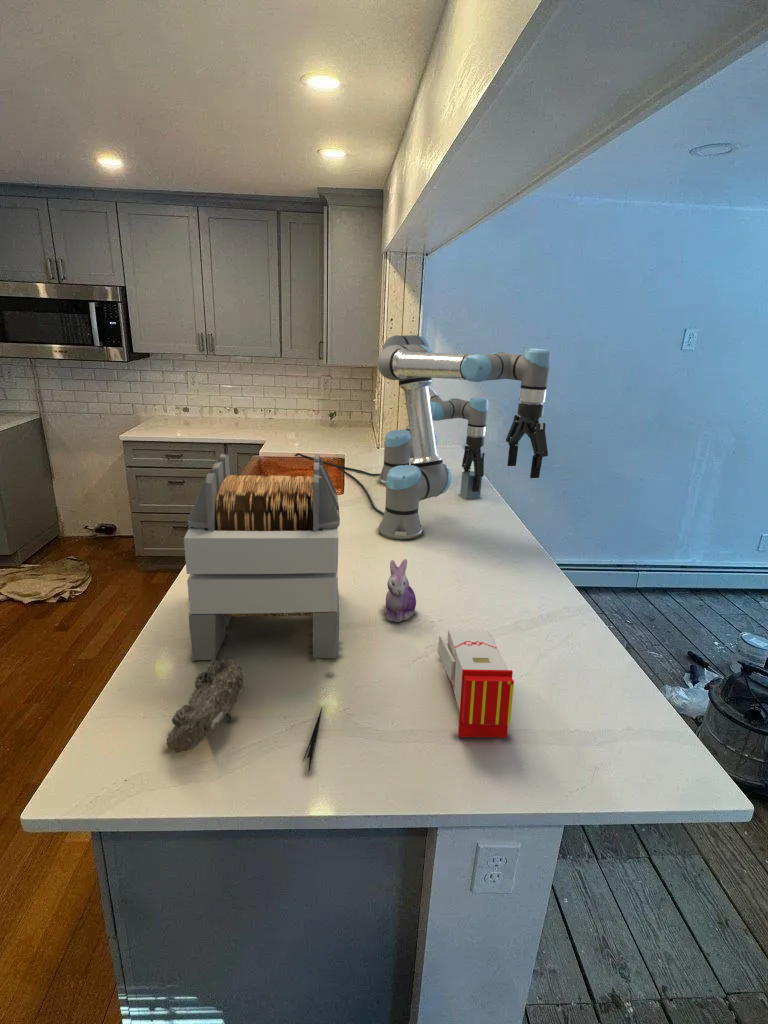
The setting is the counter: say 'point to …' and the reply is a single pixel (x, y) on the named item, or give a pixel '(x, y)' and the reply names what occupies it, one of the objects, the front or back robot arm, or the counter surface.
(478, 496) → the brick
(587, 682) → the counter surface
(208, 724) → the fossil
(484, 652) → the toy
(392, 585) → the figurine
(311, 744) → the feather
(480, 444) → the back robot arm
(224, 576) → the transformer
